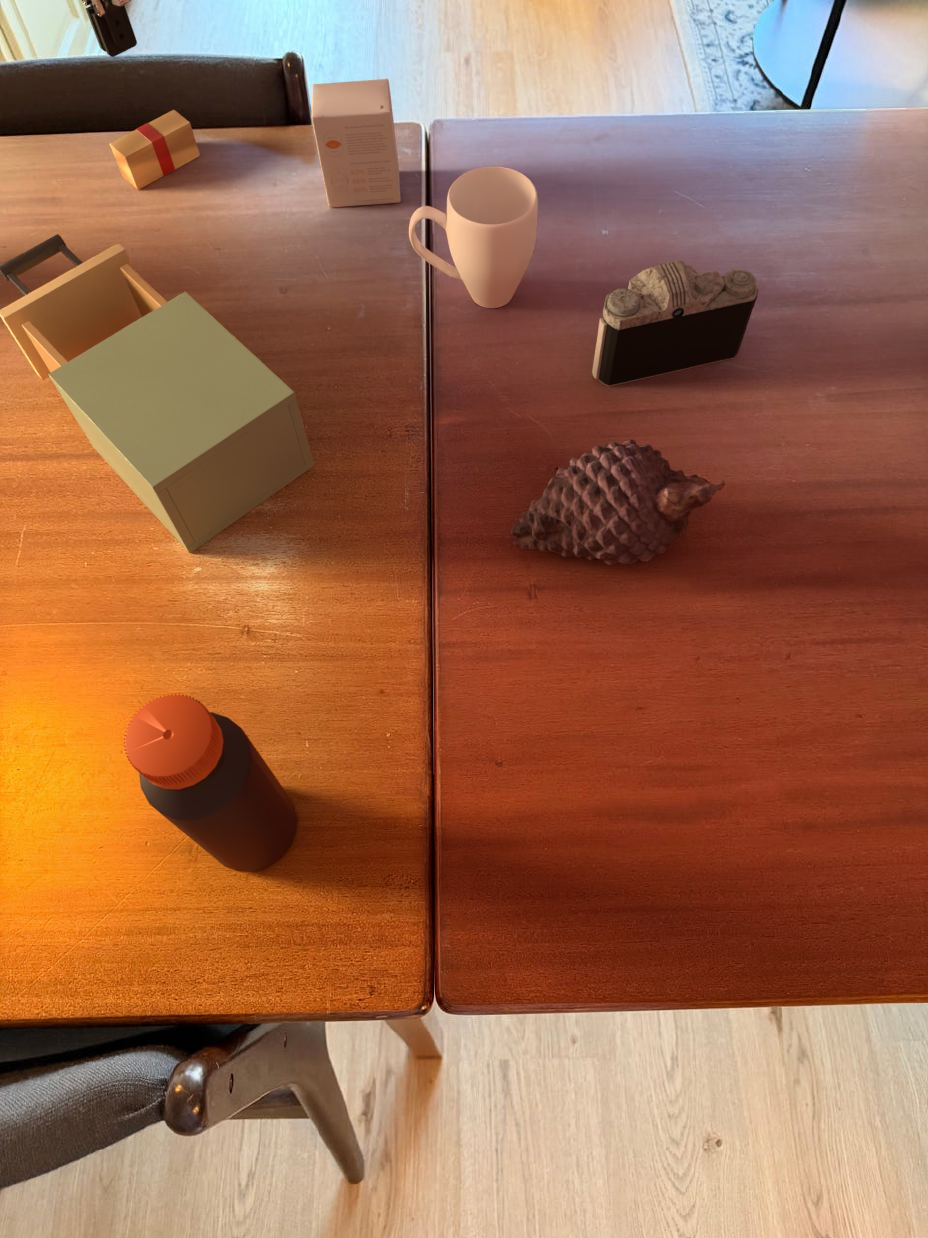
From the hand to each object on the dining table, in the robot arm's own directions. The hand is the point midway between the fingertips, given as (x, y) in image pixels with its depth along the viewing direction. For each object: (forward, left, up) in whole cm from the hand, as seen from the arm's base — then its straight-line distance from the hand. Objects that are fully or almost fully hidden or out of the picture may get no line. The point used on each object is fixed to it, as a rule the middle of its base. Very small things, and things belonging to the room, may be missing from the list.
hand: (119, 46), depth 90 cm
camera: (+57, +20, -14) cm, 62 cm away
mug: (+39, +12, -14) cm, 43 cm away
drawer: (+22, -20, -12) cm, 32 cm away
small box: (+19, +14, -14) cm, 27 cm away
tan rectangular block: (0, 0, -13) cm, 13 cm away
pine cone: (+68, +1, -14) cm, 69 cm away
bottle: (+68, -37, -14) cm, 78 cm away
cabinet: (+37, -20, -13) cm, 44 cm away
